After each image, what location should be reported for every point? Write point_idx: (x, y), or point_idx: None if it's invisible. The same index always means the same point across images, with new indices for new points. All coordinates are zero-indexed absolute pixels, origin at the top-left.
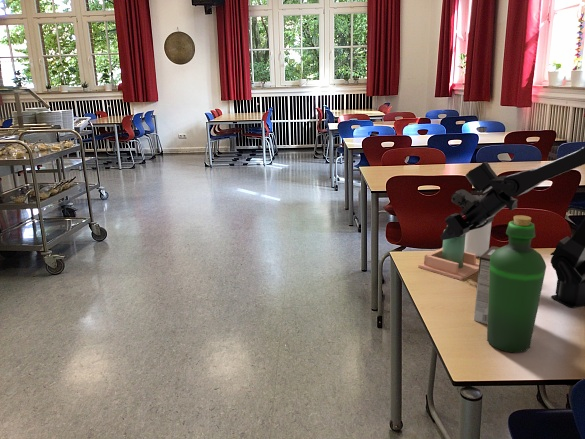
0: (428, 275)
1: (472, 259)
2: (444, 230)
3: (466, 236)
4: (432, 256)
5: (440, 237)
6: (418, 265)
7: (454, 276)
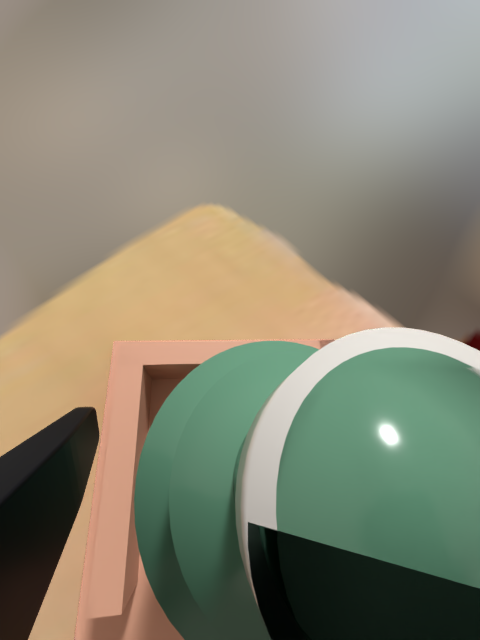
0: None
1: None
2: (227, 357)
3: None
4: (135, 382)
5: (80, 409)
6: (115, 342)
7: (81, 595)
